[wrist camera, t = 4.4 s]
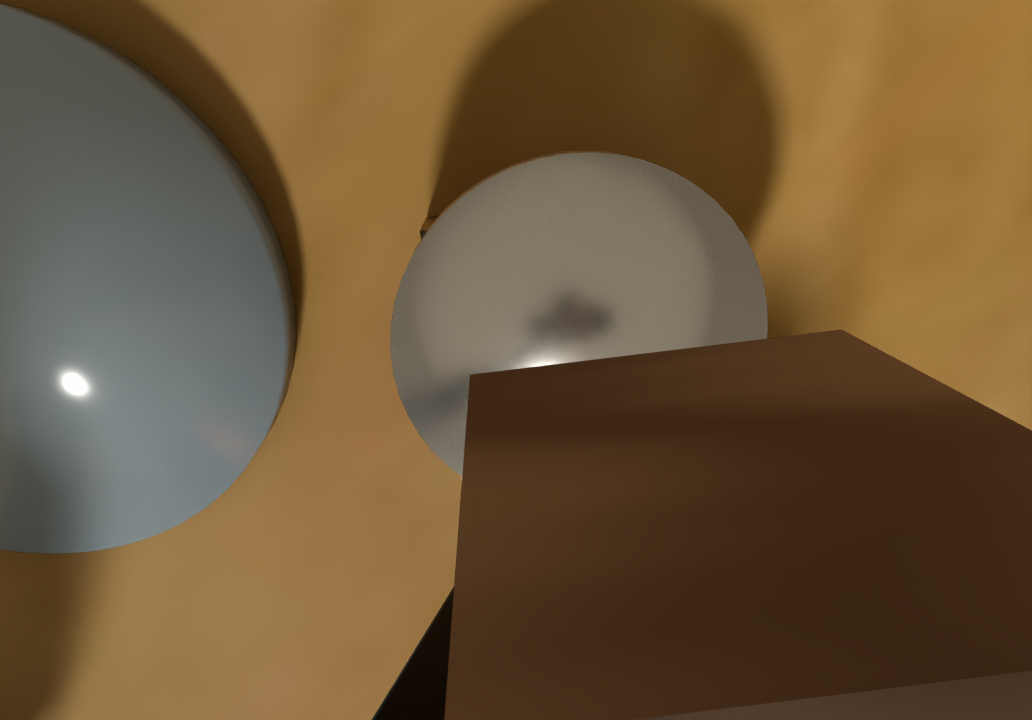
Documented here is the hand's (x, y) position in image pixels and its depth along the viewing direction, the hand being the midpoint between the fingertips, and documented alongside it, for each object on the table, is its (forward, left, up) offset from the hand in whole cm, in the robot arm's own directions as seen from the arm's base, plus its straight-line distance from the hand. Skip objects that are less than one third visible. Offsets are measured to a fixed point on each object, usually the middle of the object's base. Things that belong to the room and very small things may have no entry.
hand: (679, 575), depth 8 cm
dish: (-15, +2, -11) cm, 19 cm away
